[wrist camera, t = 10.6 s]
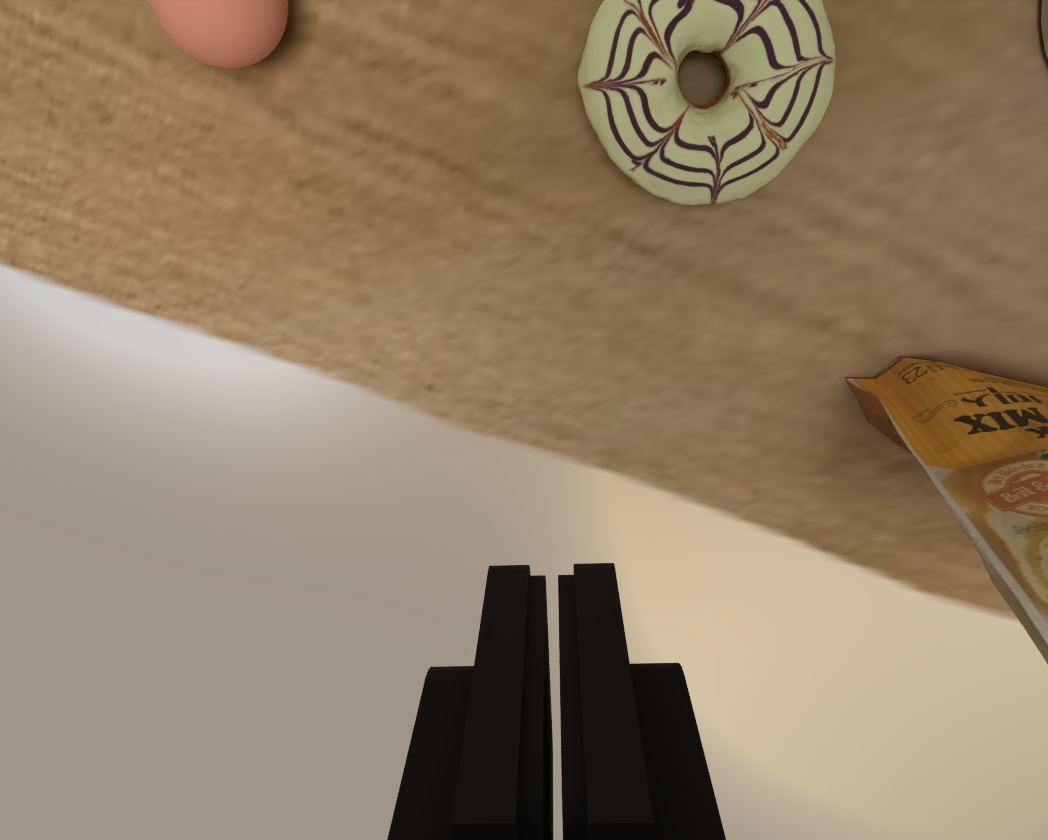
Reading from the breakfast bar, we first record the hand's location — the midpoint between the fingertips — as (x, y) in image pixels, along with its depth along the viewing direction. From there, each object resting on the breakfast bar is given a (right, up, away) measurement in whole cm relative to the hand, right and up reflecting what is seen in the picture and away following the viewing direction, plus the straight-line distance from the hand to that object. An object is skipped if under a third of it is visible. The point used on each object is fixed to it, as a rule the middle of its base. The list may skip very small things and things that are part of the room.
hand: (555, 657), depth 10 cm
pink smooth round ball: (-13, +21, +21) cm, 32 cm away
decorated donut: (+8, +19, +24) cm, 32 cm away
